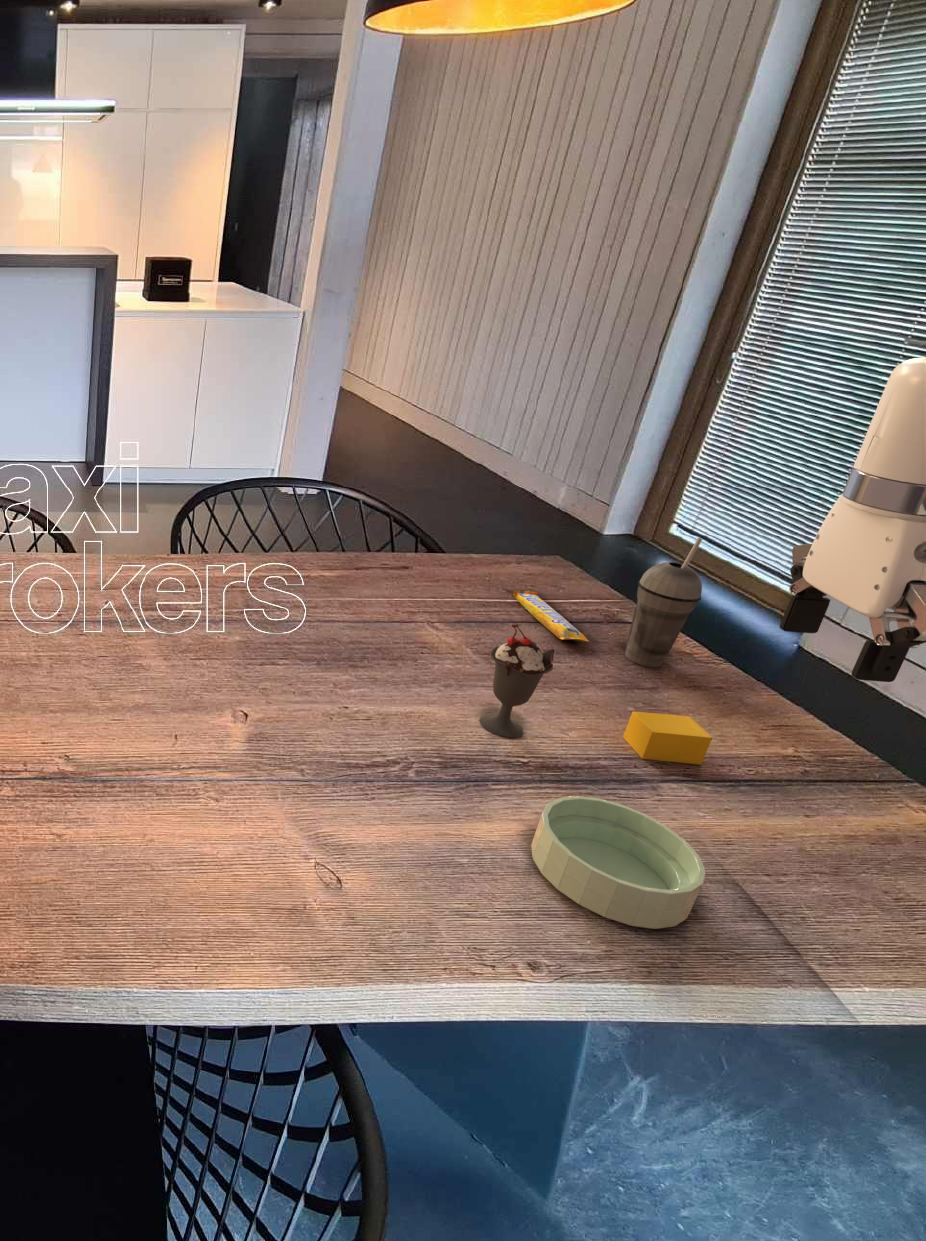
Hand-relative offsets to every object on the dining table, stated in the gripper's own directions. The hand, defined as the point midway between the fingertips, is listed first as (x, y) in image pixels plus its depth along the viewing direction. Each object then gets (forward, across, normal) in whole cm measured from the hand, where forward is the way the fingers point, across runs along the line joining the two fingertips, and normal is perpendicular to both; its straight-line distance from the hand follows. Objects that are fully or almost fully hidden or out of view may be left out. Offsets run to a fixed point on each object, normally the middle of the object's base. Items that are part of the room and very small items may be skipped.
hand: (832, 654), depth 82 cm
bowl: (+21, -13, +21) cm, 32 cm away
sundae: (+21, +13, +22) cm, 33 cm away
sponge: (+21, +12, +4) cm, 24 cm away
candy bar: (+20, +46, +3) cm, 50 cm away
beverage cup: (+21, +36, -6) cm, 42 cm away
